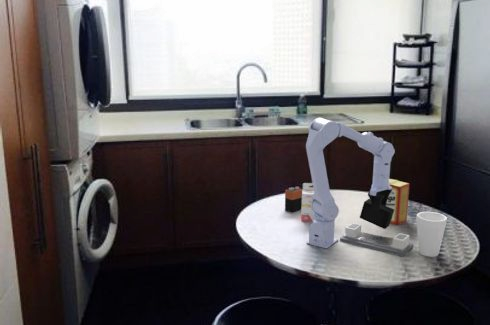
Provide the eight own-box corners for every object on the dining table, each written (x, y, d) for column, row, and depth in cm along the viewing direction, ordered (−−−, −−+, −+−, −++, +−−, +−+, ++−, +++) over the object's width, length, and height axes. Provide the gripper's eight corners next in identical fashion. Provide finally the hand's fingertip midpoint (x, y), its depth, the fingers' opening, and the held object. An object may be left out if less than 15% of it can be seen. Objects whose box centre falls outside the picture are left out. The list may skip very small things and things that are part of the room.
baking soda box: (406, 221, 198) (409, 182, 194) (397, 225, 193) (400, 185, 190) (385, 215, 205) (388, 177, 201) (376, 219, 200) (378, 180, 196)
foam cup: (420, 244, 175) (423, 209, 172) (447, 251, 169) (450, 215, 166) (409, 253, 168) (412, 217, 165) (437, 261, 162) (441, 223, 159)
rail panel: (403, 256, 166) (403, 251, 165) (339, 240, 179) (340, 236, 179) (413, 246, 174) (413, 242, 173) (351, 232, 187) (351, 228, 186)
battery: (284, 210, 211) (284, 187, 209) (295, 207, 215) (296, 184, 213) (291, 213, 208) (292, 190, 205) (303, 209, 212) (303, 187, 209)
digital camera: (390, 225, 185) (396, 208, 182) (385, 229, 181) (390, 212, 178) (365, 213, 190) (370, 197, 188) (359, 217, 186) (364, 201, 183)
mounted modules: (402, 249, 168) (403, 240, 167) (345, 235, 180) (345, 227, 179) (408, 243, 172) (409, 234, 172) (352, 230, 184) (352, 222, 184)
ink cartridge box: (301, 221, 198) (302, 186, 194) (301, 217, 203) (301, 182, 199) (323, 222, 197) (324, 186, 194) (322, 218, 202) (323, 183, 198)
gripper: (384, 180, 172) (382, 217, 175) (399, 171, 184) (396, 206, 187) (365, 176, 176) (363, 213, 180) (380, 168, 188) (378, 202, 191)
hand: (378, 209), depth 183 cm, fingers closed on digital camera, 5 cm apart
